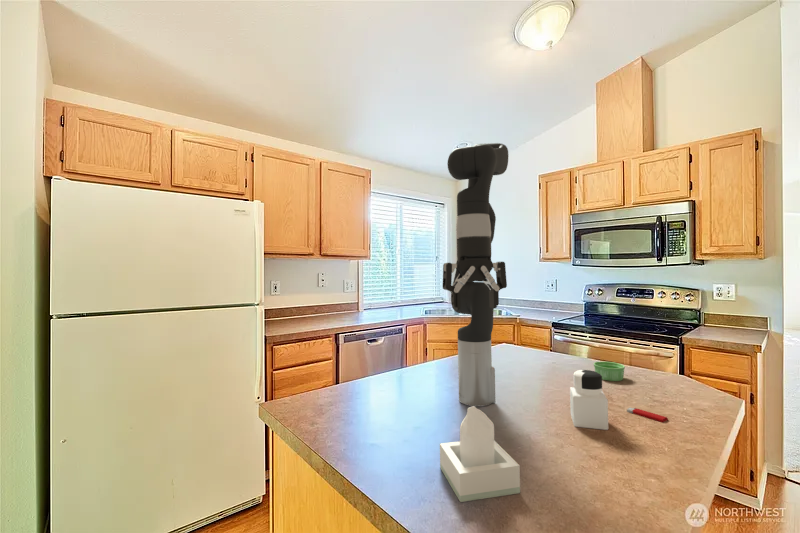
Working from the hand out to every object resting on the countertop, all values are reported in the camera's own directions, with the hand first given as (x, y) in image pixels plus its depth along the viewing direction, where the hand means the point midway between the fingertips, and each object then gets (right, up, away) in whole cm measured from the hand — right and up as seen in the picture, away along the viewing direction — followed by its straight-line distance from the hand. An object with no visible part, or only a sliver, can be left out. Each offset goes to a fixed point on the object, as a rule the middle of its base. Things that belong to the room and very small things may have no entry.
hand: (475, 308), depth 82 cm
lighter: (+44, -28, +9) cm, 53 cm away
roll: (-3, -27, -17) cm, 32 cm away
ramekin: (+53, -28, +40) cm, 72 cm away
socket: (-3, -28, -17) cm, 33 cm away
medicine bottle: (+28, -28, +5) cm, 40 cm away
